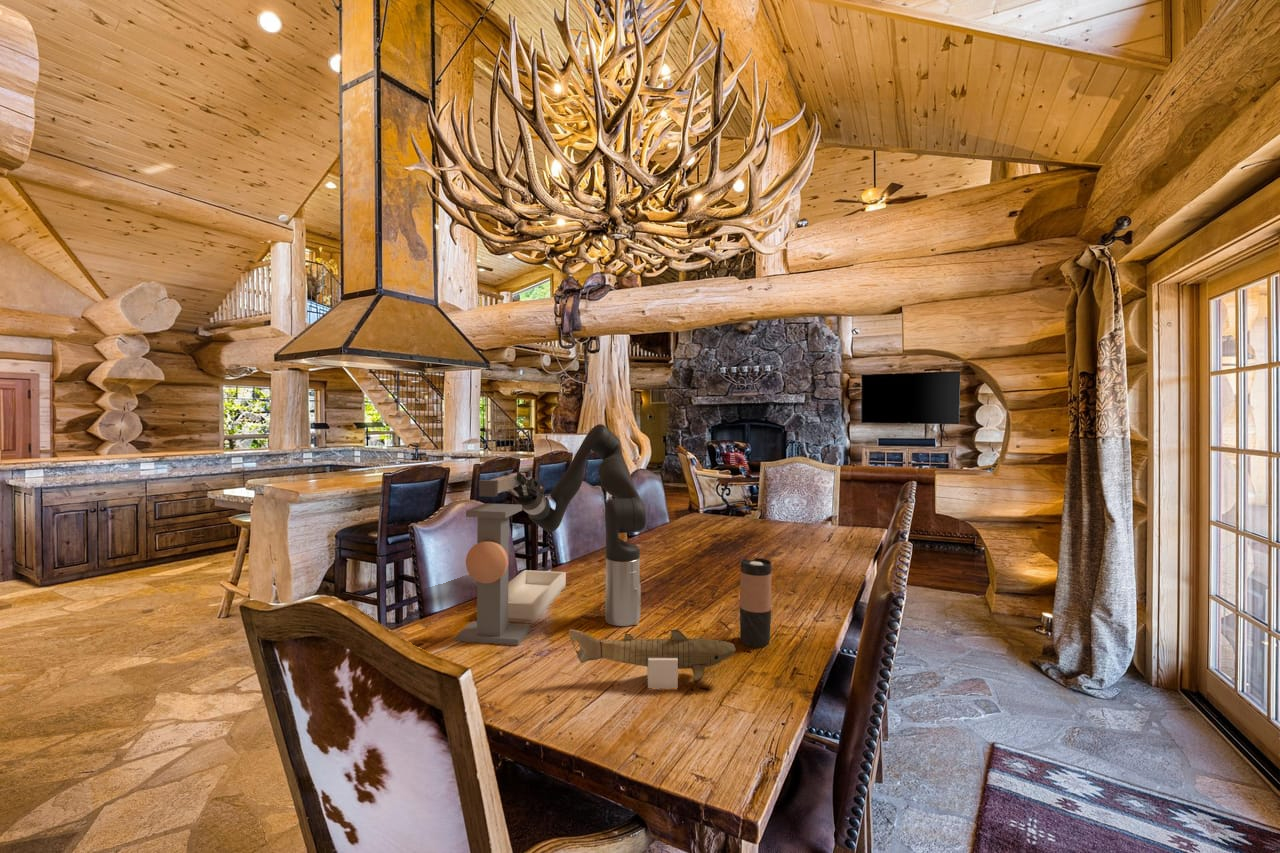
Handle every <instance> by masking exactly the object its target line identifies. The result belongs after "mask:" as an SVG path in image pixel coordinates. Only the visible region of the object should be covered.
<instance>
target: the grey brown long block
mask: <svg viewBox="0 0 1280 853" xmlns="http://www.w3.org/2000/svg"><path fill="white" fill-rule="evenodd" d="M517 473H518V472H513V473H509V474H510V475H506V476H504V475H503V476H499V477H496V478H492V479H480V480H479V482H478V483H479V484H478V485H479V486H478V487H479V488H478V489H479V492H478V494H479V495H478V496H479V497H490V498H491V497H493V498H496V497H498V495H499V494H500V493H501V492H503V491H504V492H505V491H506V490H509V489H512V488H514V487H517V486H520V483H519V482H518V481H517ZM520 473H521V474H522V475H524V477H526V472H520ZM526 478H527V477H526ZM506 492H507V491H506Z"/></svg>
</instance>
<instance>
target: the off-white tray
mask: <svg viewBox="0 0 1280 853" xmlns="http://www.w3.org/2000/svg"><path fill="white" fill-rule="evenodd" d="M566 574H567V572H566V571H565V572H564V571H550V570H530V569H529V570H528V569H525V570H523V571H521V572H520V573H519V574H517V575H516V576H515V577H514V578H513V579H511V580H509V581H508V622H511V623H524V622H530V623H529V624H535V623H534V622H536V621H537V620H538V619H539V618H540V617H541V616H542V615H543V614H542V613H544V612H545V611H546V610H547V609H548V608H549V607H550V606H551V605H552V604H553V602H554V601H555V600H556V599H557V598H558V597H559V596H560V595H561V593H562V592H563V591H564V590H565V589H566V588H565V587H566V586H567V584H566V579H567V578H566V577H567V576H566ZM564 588H565V589H564ZM563 589H564V590H563ZM562 590H563V591H562ZM561 591H562V592H561ZM557 596H558V597H557ZM556 597H557V598H556ZM555 598H556V599H555ZM554 599H555V600H554ZM553 600H554V601H553ZM550 604H551V605H550ZM549 605H550V606H549ZM548 606H549V607H548ZM547 607H548V608H547ZM541 614H542V615H541ZM540 615H541V616H540ZM539 616H540V617H539Z"/></svg>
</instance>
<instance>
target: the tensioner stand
mask: <svg viewBox="0 0 1280 853" xmlns="http://www.w3.org/2000/svg"><path fill="white" fill-rule="evenodd" d="M522 511H523V509H522V505H518V503H517V504H516V503H515V504H512V503H511V504H510V503H509V504H508V503H490V502H487V503H486V502H485V503H484V504H480V505H477V506H474V507H472V508H469V509H466V511H465V517H466V518H477V525H476V526H477V528H476V529H477V530H476V531H477V535H476V537H477V540H476V541H477V543H476V544H475V545H473V546H472V547H470V549H469V550H468V552H467V554H466V557H465V567H466V570H467V572H468V573H469V575H470V577H471V578H472V579H473V580H475V581H476V621H475V620H472V621H471V622H470V623H468V624H467V625H466V626H465V627H463V628H462V630H460V631H459V632H458V633H457V634H455V641H456V640H457V641H456V642H461V641H470V642H469V643H474V642H481V643H480V644H488V643H496V644H495V645H501V644H506V645H505V646H514V645H516V646H515V647H518V646H519V645H520V644H521V643H522V642H523V641H524V640H525V639H526V637H527V636H528V635H529V634H530V633H531V632H532V624H521V623H519V624H518V623H509V621H508V583H509V561H510V560H509V557H510V556H509V548H510V545H509V542H510V540H509V539H510V538H509V535H510V534H509V533H510V532H509V530H510V529H509V528H510V526H509V525H510V521H509V520H510V518H509V517H511V516H513V515H515V514H518V513H519V512H522ZM529 632H530V633H529ZM528 633H529V634H528ZM523 639H524V640H523ZM522 640H523V641H522ZM521 641H522V642H521Z"/></svg>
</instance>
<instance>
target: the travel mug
mask: <svg viewBox="0 0 1280 853" xmlns="http://www.w3.org/2000/svg"><path fill="white" fill-rule="evenodd" d="M739 578H740V580H739V582H740V584H739V585H740V586H739V589H740V591H739V624H740V625H739V627H740V628H739V632H740V633H739V636H740V637H739V640H740V642H741V644H743V645H745V646H747V647H750V648H756V647H760V648H765V646H766V647H768V646H769V645H770V642H771V640H770V639H771V625H772V624H771V620H772V562H771V561H770V560H768V559H766V558H761V557H756V558H754V559H748V558H746V557H745V558H742V559H741V560H740V577H739ZM767 645H768V646H767Z"/></svg>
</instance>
